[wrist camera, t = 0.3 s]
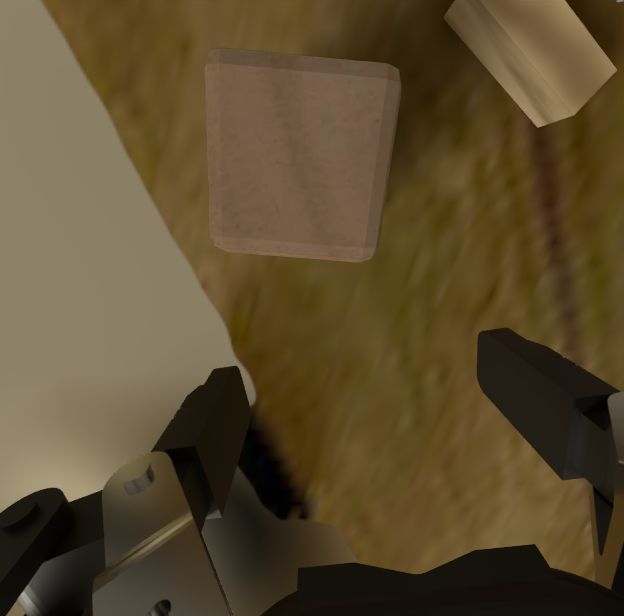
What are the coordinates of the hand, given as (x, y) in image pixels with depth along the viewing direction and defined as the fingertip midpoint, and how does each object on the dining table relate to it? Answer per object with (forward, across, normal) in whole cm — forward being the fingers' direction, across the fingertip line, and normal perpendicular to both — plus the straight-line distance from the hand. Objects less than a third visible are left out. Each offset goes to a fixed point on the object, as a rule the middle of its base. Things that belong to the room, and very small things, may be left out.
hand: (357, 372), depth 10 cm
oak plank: (+29, -21, -16) cm, 39 cm away
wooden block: (+28, +1, -7) cm, 29 cm away
